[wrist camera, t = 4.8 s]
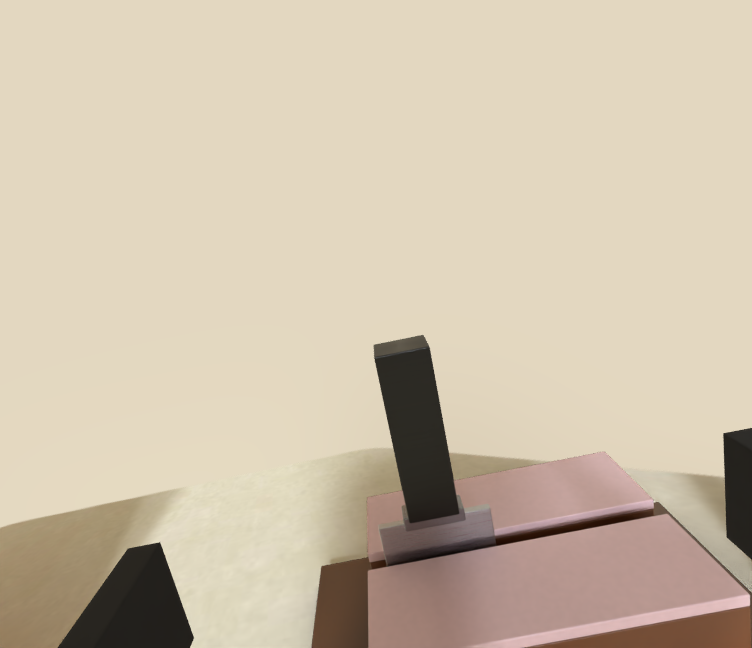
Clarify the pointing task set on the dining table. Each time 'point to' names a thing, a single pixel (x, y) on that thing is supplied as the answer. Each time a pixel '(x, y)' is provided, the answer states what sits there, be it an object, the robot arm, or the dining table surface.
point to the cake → (557, 571)
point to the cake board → (350, 601)
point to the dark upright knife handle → (423, 463)
